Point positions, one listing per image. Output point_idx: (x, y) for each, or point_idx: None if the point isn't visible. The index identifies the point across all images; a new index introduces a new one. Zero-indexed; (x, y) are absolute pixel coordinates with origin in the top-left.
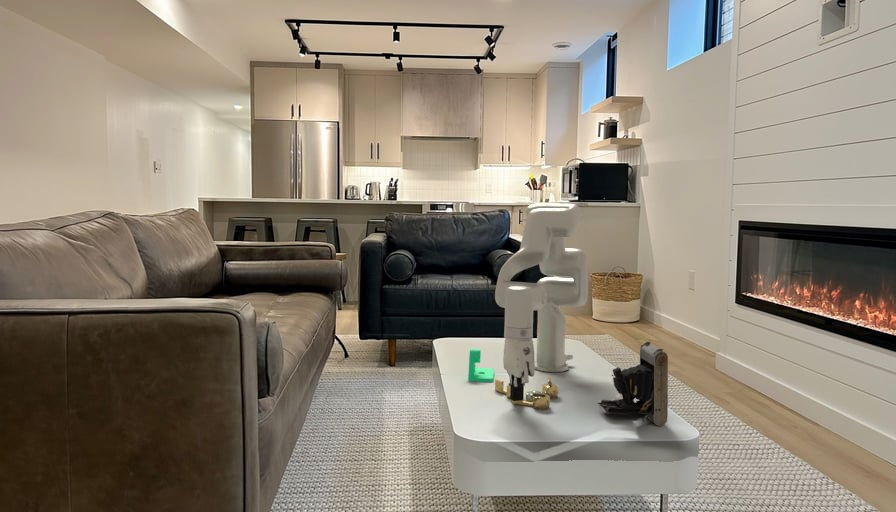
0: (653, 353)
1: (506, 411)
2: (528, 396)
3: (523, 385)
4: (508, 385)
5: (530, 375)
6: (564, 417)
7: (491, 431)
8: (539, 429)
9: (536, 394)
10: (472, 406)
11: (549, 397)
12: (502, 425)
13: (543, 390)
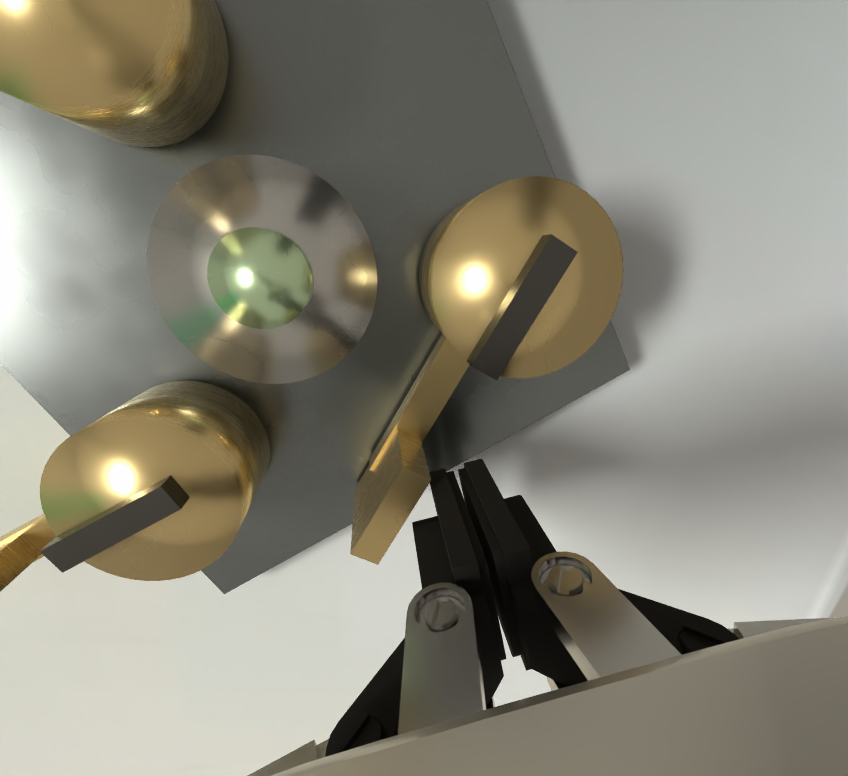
0: None
1: (430, 517)
2: (326, 367)
3: (589, 574)
4: (100, 560)
5: (779, 632)
6: (629, 100)
7: None
8: (778, 382)
9: (517, 345)
10: (320, 690)
11: (587, 195)
12: (655, 569)
13: (125, 121)
